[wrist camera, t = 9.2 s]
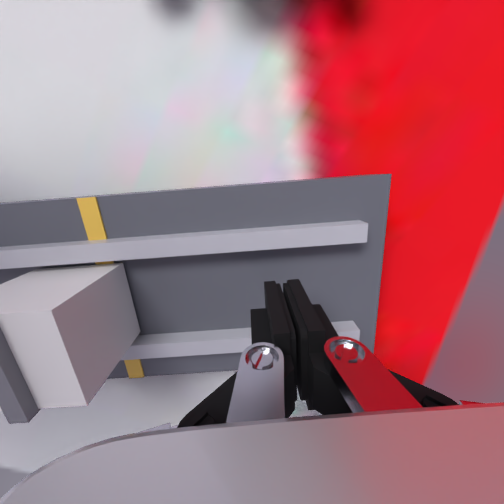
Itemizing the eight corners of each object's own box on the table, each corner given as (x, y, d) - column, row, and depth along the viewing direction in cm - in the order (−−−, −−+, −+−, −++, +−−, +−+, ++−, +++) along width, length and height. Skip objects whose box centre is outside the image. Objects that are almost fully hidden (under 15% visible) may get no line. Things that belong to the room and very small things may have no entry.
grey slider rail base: (-33, 205, 15) (-127, 214, 12) (364, 174, 15) (403, 173, 11) (32, 354, 19) (-23, 399, 15) (353, 333, 19) (380, 373, 15)
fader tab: (35, 267, 13) (-105, 325, 8) (122, 261, 13) (38, 315, 8) (62, 338, 15) (-42, 426, 9) (140, 332, 15) (79, 419, 9)
